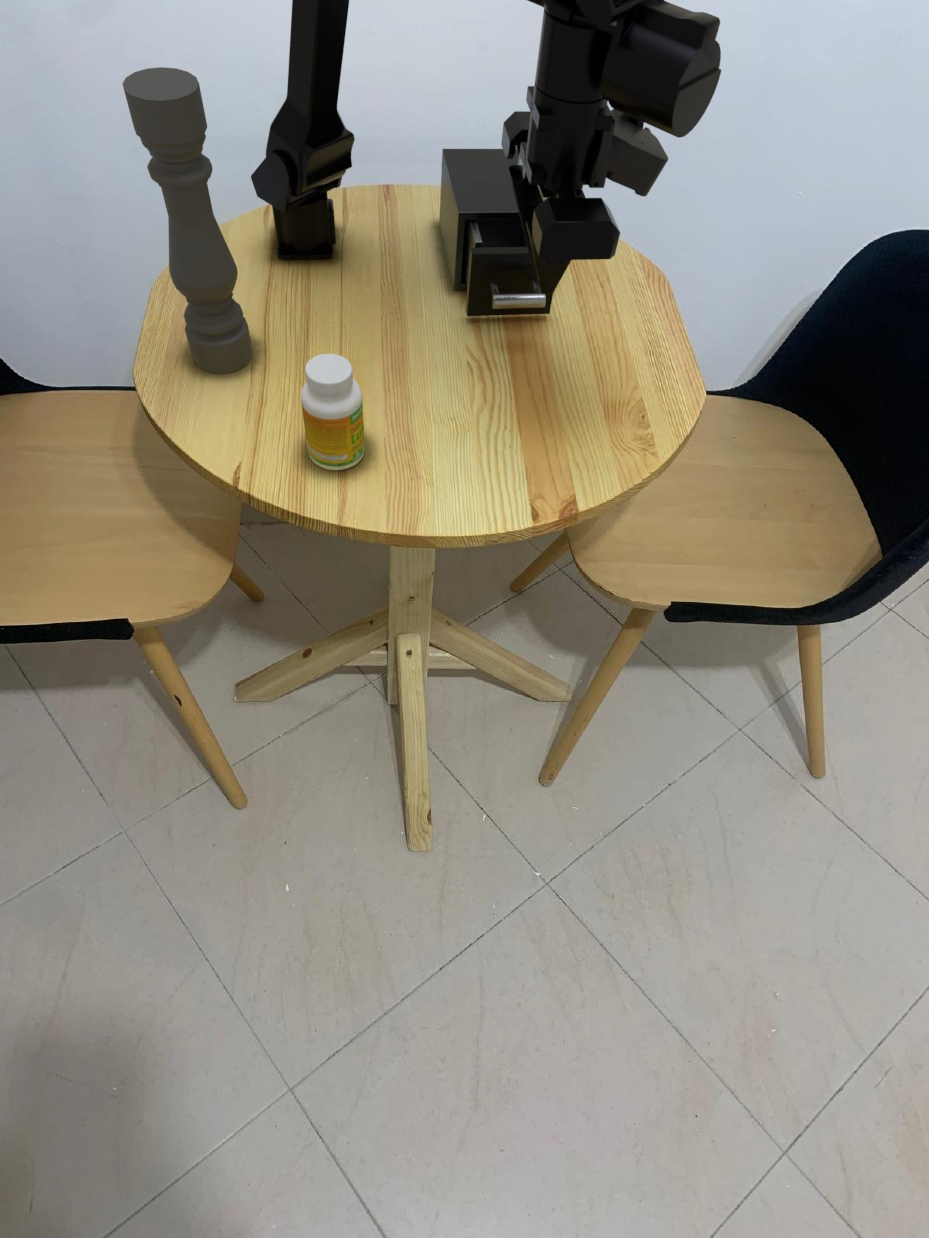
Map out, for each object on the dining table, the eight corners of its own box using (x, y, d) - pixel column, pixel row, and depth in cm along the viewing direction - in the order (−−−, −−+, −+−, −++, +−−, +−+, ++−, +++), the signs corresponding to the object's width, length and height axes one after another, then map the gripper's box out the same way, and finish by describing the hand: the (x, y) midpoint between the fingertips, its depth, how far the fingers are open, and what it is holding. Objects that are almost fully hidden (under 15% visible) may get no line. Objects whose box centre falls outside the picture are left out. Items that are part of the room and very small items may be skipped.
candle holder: (192, 376, 78) (116, 103, 57) (191, 337, 81) (120, 66, 61) (254, 371, 79) (202, 101, 58) (251, 334, 82) (201, 65, 62)
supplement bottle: (362, 474, 72) (357, 391, 64) (304, 470, 72) (292, 387, 64) (367, 434, 75) (363, 350, 67) (311, 430, 75) (301, 345, 67)
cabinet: (542, 288, 91) (555, 211, 83) (453, 290, 89) (458, 212, 82) (521, 224, 98) (531, 148, 91) (439, 225, 97) (442, 148, 89)
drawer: (557, 337, 84) (569, 275, 78) (472, 340, 83) (478, 277, 77) (528, 250, 93) (537, 189, 87) (452, 251, 92) (455, 189, 86)
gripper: (711, 148, 54) (651, 337, 67) (641, 36, 64) (601, 220, 77) (558, 147, 53) (527, 341, 66) (510, 34, 63) (492, 221, 76)
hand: (541, 276), depth 71 cm, fingers open, 5 cm apart
